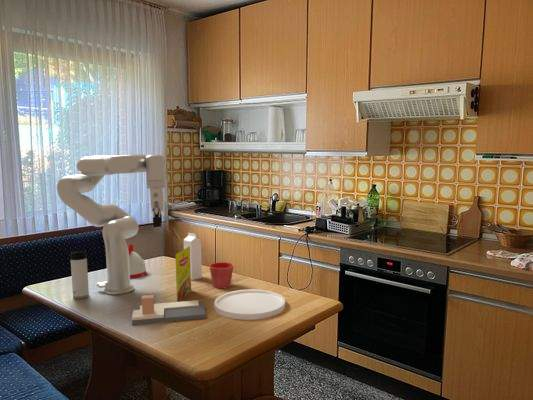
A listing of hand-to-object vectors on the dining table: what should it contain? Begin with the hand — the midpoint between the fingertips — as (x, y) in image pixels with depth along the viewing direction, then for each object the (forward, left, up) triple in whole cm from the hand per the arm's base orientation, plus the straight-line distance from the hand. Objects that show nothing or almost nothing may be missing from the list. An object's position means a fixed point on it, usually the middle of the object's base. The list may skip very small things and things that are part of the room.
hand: (157, 224), depth 180 cm
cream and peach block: (-4, -27, -29) cm, 40 cm away
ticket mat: (+4, -24, -30) cm, 39 cm away
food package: (+10, -5, -31) cm, 32 cm away
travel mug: (-33, +5, -31) cm, 45 cm away
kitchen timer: (-15, +35, -31) cm, 49 cm away
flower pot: (+27, +5, -31) cm, 41 cm away
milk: (+15, +21, -31) cm, 40 cm away
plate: (+35, -23, -31) cm, 52 cm away
